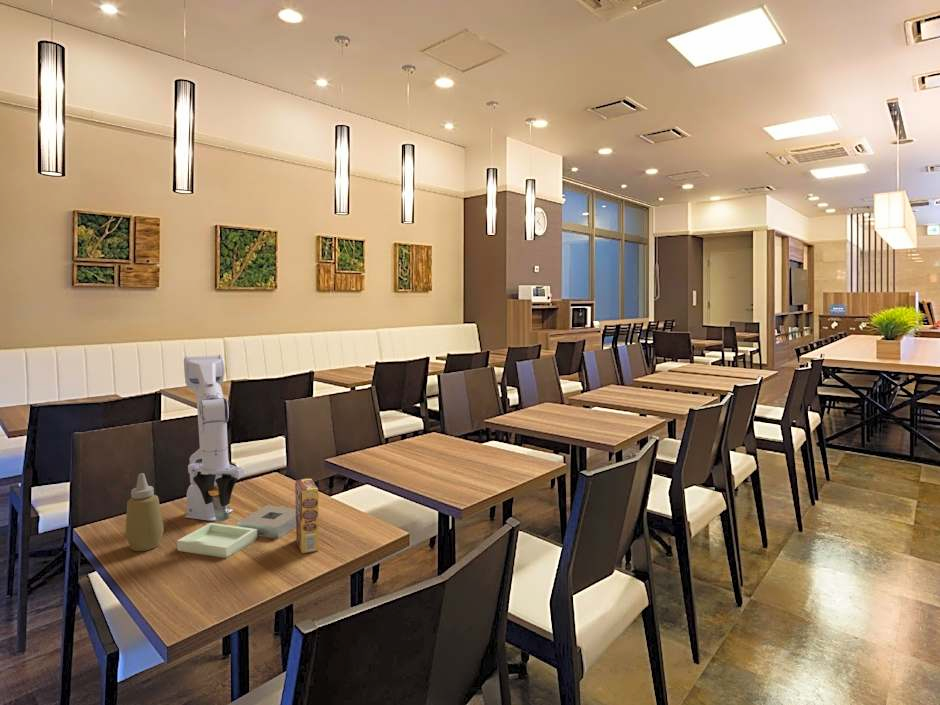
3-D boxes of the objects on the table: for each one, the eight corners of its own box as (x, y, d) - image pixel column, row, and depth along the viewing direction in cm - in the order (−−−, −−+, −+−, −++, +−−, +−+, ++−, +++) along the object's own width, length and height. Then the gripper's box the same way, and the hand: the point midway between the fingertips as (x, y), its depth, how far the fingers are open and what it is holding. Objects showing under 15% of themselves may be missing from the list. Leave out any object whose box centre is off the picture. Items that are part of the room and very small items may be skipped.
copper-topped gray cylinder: (209, 522, 137) (203, 491, 136) (222, 513, 141) (216, 483, 140) (223, 523, 136) (217, 492, 134) (235, 515, 140) (230, 484, 138)
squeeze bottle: (118, 551, 135) (113, 477, 133) (147, 537, 142) (143, 467, 140) (143, 556, 132) (138, 481, 130) (172, 542, 139) (168, 471, 138)
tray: (177, 550, 135) (177, 540, 135) (210, 532, 145) (210, 522, 145) (226, 558, 131) (226, 547, 131) (257, 538, 141) (257, 529, 141)
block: (237, 533, 145) (237, 521, 145) (267, 515, 156) (266, 505, 156) (278, 538, 141) (278, 527, 141) (305, 520, 153) (305, 509, 153)
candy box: (320, 550, 135) (318, 488, 133) (301, 554, 133) (300, 491, 131) (313, 536, 143) (311, 477, 141) (295, 539, 141) (293, 480, 139)
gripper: (177, 450, 134) (180, 506, 135) (228, 455, 130) (231, 513, 131) (199, 443, 141) (201, 496, 142) (248, 447, 137) (250, 502, 138)
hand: (217, 503), depth 137 cm, fingers closed on copper-topped gray cylinder, 4 cm apart
